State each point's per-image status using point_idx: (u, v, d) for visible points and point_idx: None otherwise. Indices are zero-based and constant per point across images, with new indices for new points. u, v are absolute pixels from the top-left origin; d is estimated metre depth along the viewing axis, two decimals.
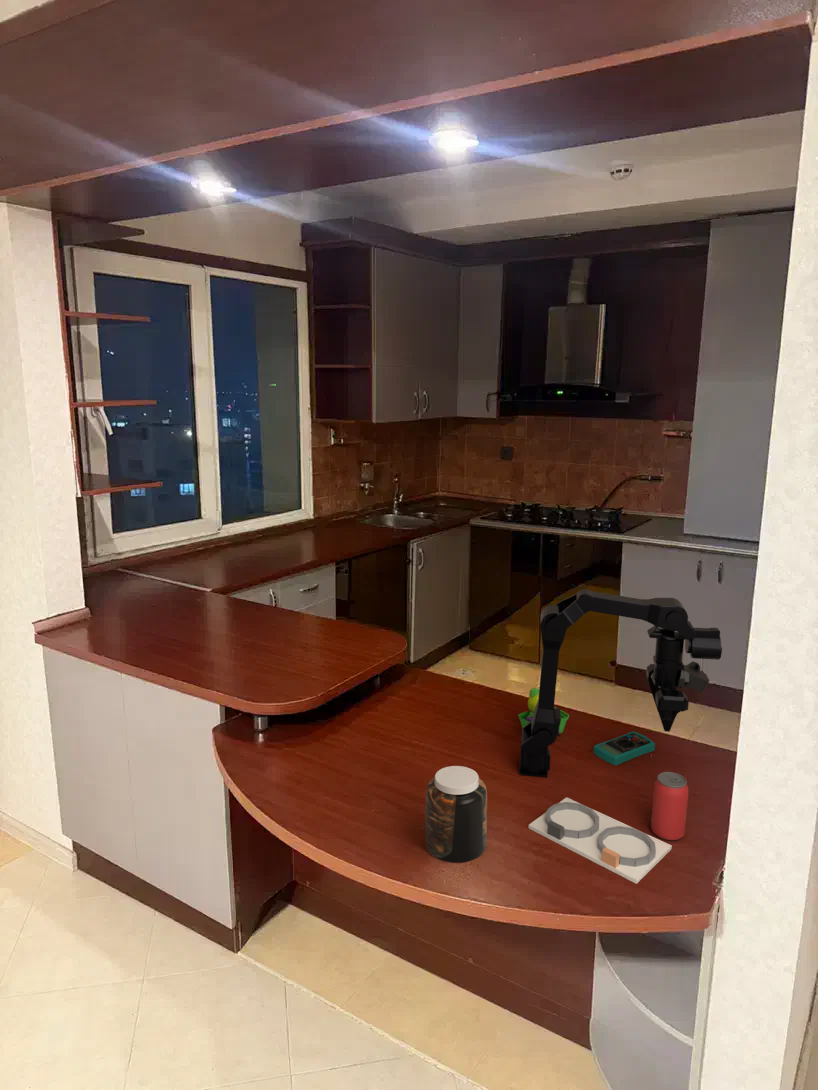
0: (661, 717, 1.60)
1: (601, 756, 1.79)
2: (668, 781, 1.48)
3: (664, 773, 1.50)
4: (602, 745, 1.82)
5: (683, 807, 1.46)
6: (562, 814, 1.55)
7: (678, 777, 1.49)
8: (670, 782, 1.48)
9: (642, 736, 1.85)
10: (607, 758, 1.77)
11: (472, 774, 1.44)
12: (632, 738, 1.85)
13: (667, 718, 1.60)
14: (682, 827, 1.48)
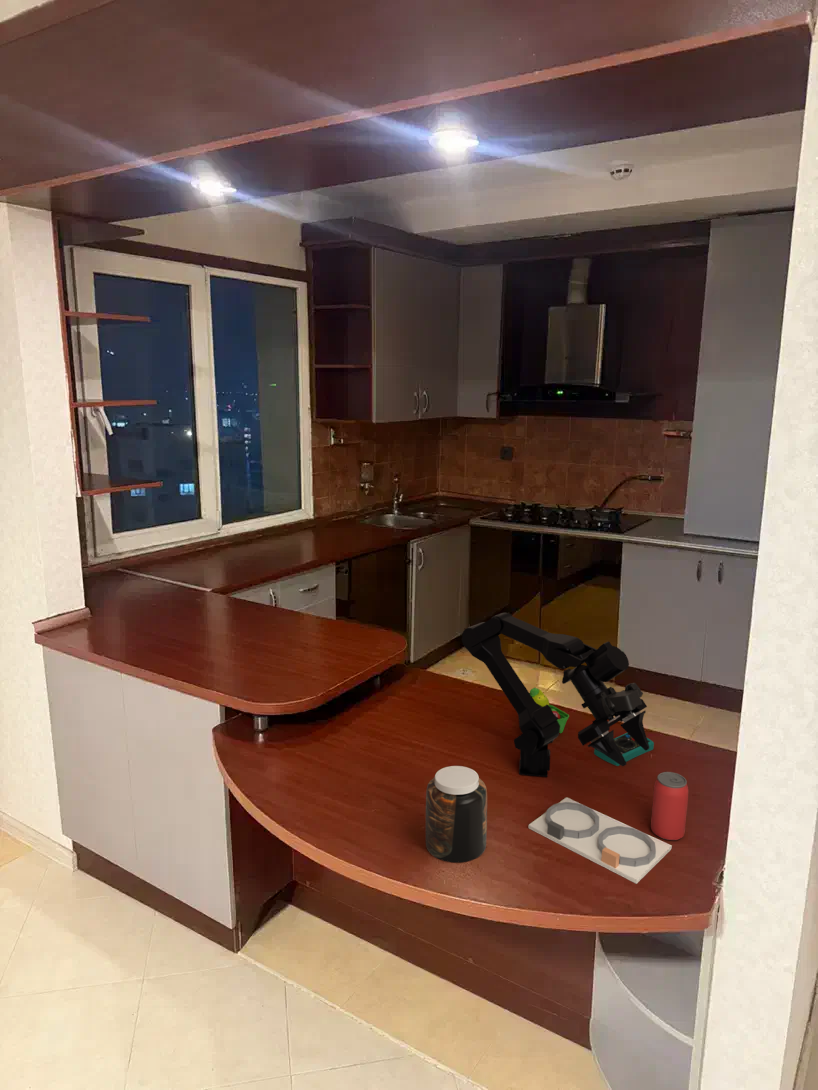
0: (605, 753, 1.52)
1: (602, 757, 1.78)
2: (668, 781, 1.48)
3: (664, 773, 1.50)
4: None
5: (683, 807, 1.46)
6: (562, 814, 1.55)
7: (678, 777, 1.49)
8: (670, 782, 1.48)
9: None
10: (609, 759, 1.77)
11: (472, 774, 1.44)
12: (631, 738, 1.85)
13: (610, 752, 1.51)
14: (682, 827, 1.48)
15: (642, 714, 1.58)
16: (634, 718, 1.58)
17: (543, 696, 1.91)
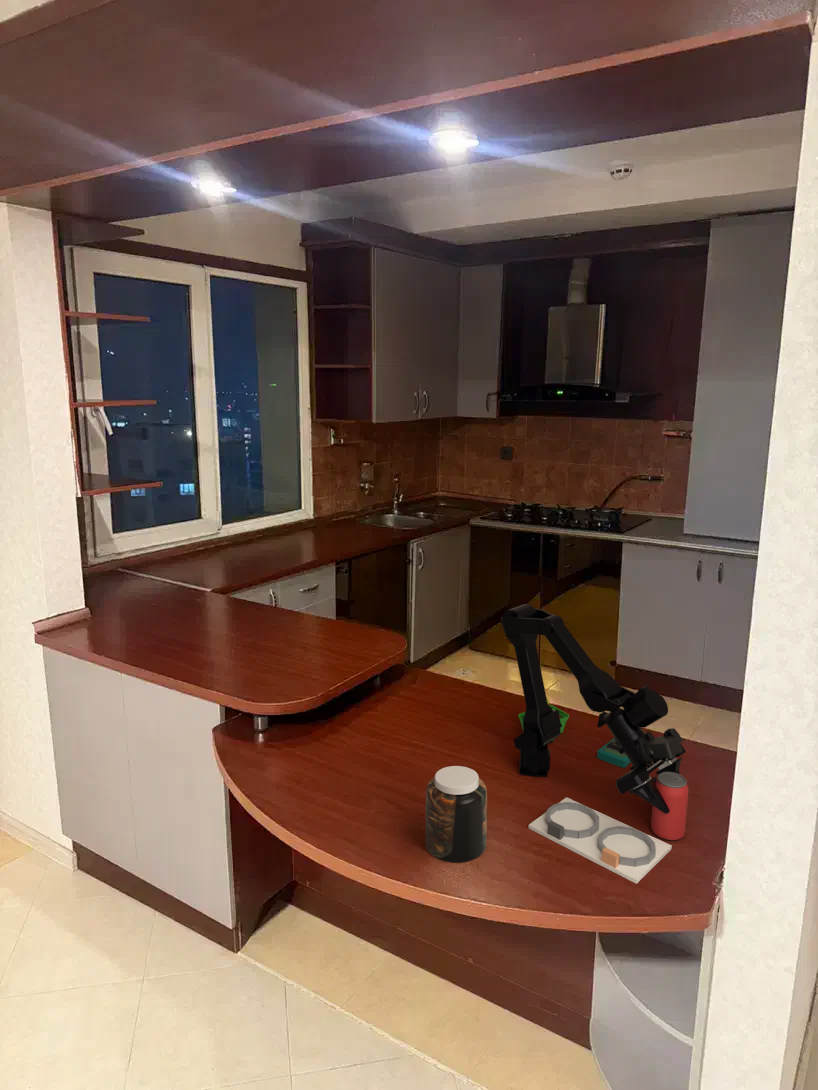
0: (647, 800, 1.47)
1: (607, 760, 1.77)
2: (668, 781, 1.48)
3: (664, 773, 1.50)
4: (604, 748, 1.80)
5: (683, 807, 1.46)
6: (562, 814, 1.55)
7: (678, 777, 1.49)
8: (670, 782, 1.48)
9: None
10: (615, 761, 1.76)
11: (472, 774, 1.44)
12: None
13: (652, 799, 1.47)
14: (682, 827, 1.48)
15: (678, 762, 1.52)
16: (670, 766, 1.52)
17: None
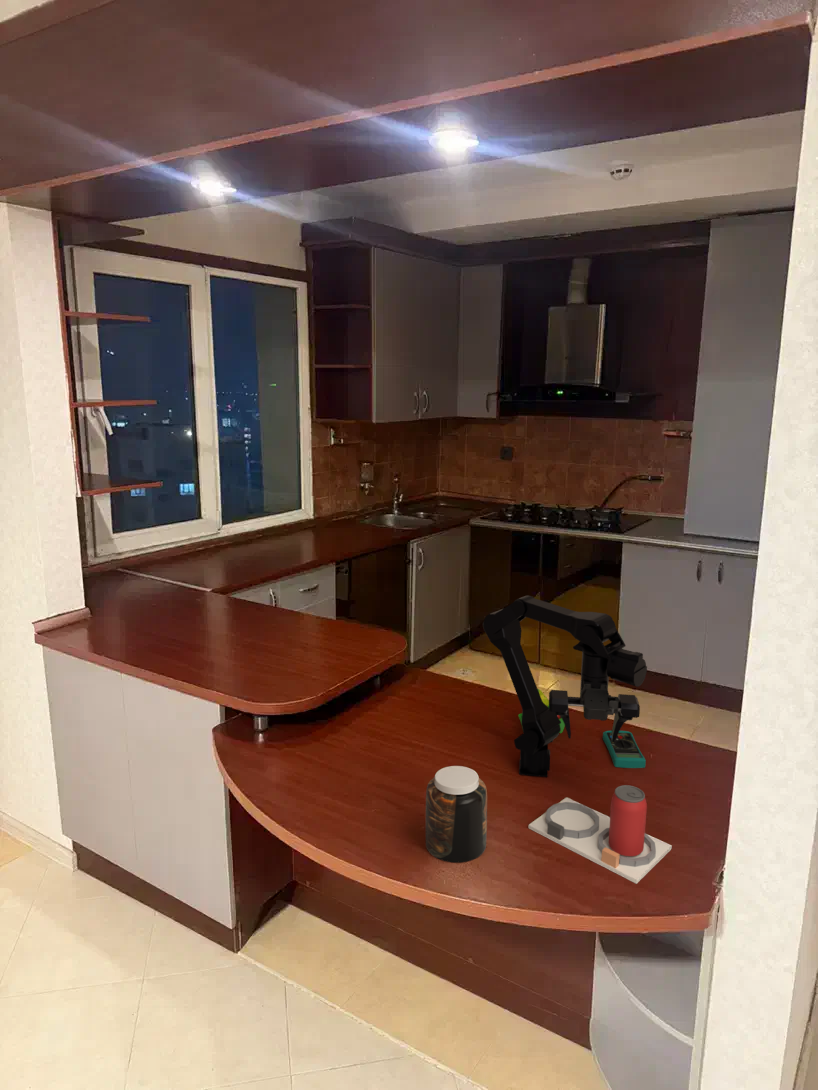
0: None
1: (628, 765, 1.75)
2: (625, 794, 1.42)
3: (626, 786, 1.44)
4: (616, 755, 1.77)
5: (635, 823, 1.40)
6: (562, 814, 1.55)
7: (639, 793, 1.42)
8: (626, 795, 1.42)
9: None
10: (636, 764, 1.75)
11: (472, 774, 1.44)
12: (616, 737, 1.85)
13: None
14: (635, 845, 1.41)
15: (624, 719, 1.57)
16: (617, 715, 1.58)
17: (543, 696, 1.91)
